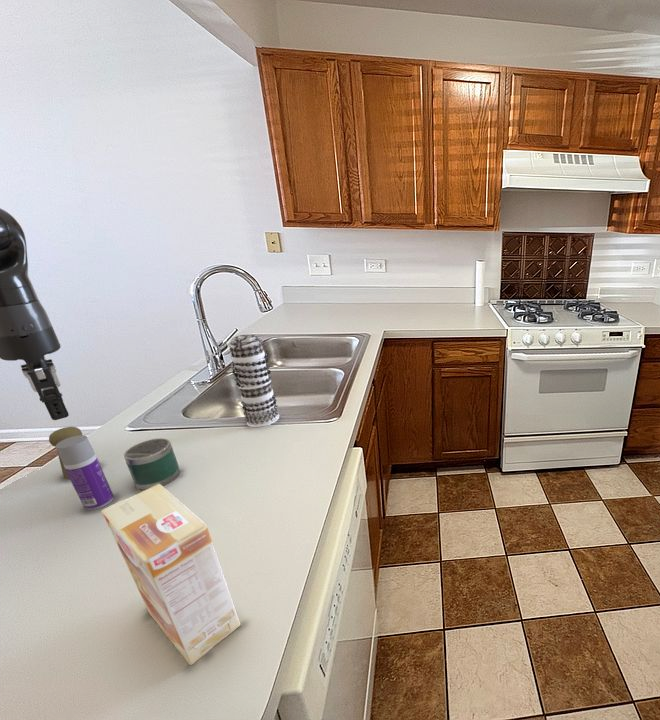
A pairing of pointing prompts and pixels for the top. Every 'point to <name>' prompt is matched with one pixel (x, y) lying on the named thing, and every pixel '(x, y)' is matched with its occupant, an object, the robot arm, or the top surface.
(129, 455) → the tin can
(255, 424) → the decorative candle
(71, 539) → the top surface
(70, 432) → the cork
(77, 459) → the container
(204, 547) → the coffeecake box
